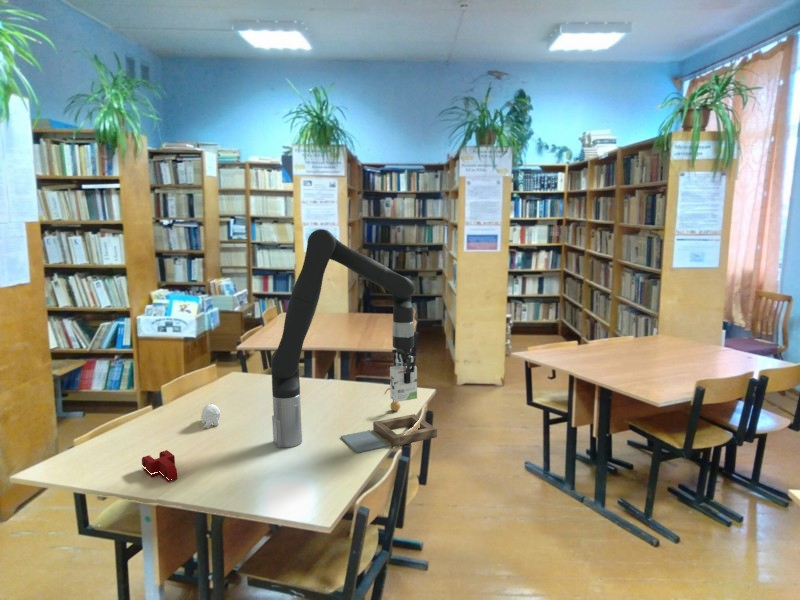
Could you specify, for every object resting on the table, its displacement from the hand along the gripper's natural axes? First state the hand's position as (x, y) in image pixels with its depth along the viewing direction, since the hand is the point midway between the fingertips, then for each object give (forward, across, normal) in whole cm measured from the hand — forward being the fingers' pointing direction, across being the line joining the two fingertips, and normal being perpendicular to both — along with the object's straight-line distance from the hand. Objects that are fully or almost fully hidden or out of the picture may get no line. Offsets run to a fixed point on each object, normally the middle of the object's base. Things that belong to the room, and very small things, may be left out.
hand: (403, 381), depth 191 cm
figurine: (+20, -22, +7) cm, 30 cm away
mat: (+20, 0, -16) cm, 25 cm away
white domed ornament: (+20, -44, -61) cm, 78 cm away
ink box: (+7, 0, 0) cm, 7 cm away
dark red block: (+20, -7, -79) cm, 82 cm away
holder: (+19, 0, 0) cm, 19 cm away
